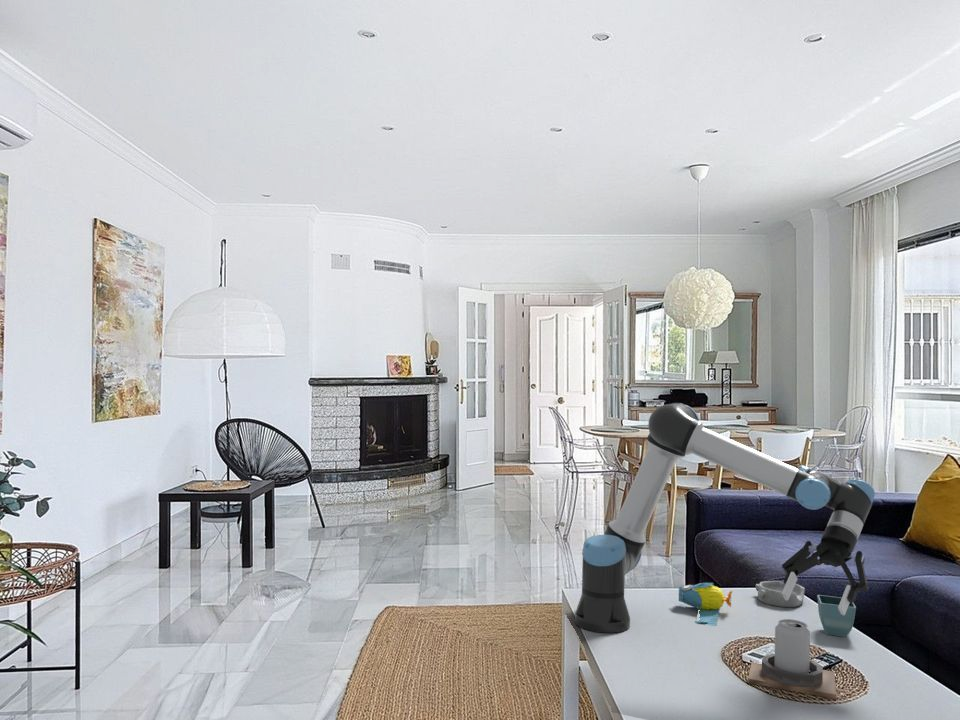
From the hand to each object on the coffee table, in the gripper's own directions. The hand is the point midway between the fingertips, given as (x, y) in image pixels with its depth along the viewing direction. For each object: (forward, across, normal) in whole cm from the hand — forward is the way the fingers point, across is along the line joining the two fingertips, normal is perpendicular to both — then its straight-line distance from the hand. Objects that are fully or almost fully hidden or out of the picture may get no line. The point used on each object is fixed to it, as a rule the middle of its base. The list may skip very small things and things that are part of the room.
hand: (812, 604), depth 177 cm
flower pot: (-11, +8, -34) cm, 37 cm away
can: (+17, 0, -4) cm, 17 cm away
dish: (-22, +33, -45) cm, 60 cm away
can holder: (+17, 0, -5) cm, 18 cm away
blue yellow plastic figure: (-2, +42, -26) cm, 49 cm away
